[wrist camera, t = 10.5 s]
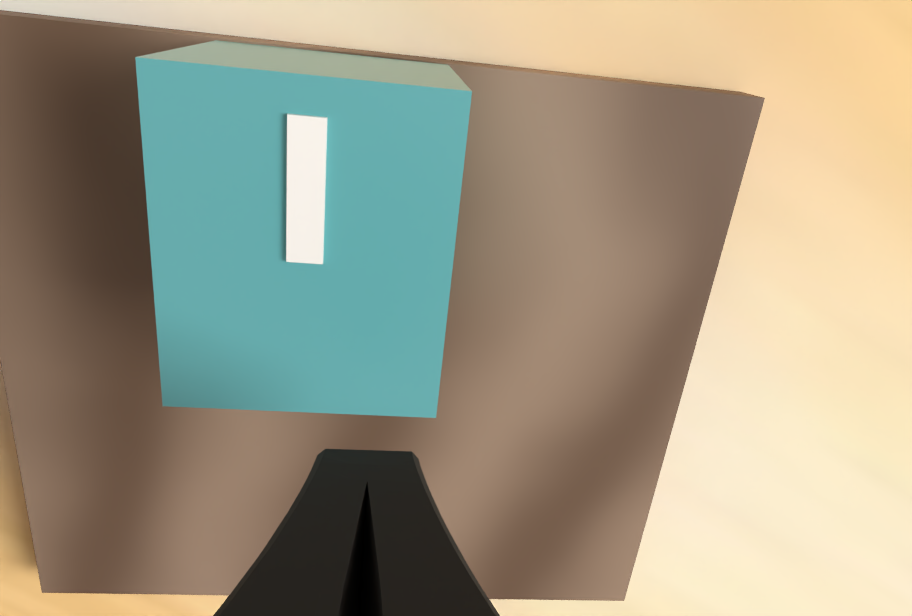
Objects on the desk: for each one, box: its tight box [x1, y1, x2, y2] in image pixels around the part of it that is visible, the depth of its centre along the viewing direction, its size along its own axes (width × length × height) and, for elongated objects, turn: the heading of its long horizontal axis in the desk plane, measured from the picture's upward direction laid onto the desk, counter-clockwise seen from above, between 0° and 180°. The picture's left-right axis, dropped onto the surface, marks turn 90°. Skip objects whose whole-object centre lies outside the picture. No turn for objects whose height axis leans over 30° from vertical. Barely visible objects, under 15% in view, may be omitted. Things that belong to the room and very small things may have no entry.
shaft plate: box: [0, 10, 765, 601], centre depth 17 cm, size 18×16×4 cm
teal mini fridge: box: [135, 40, 472, 418], centre depth 14 cm, size 5×6×5 cm
